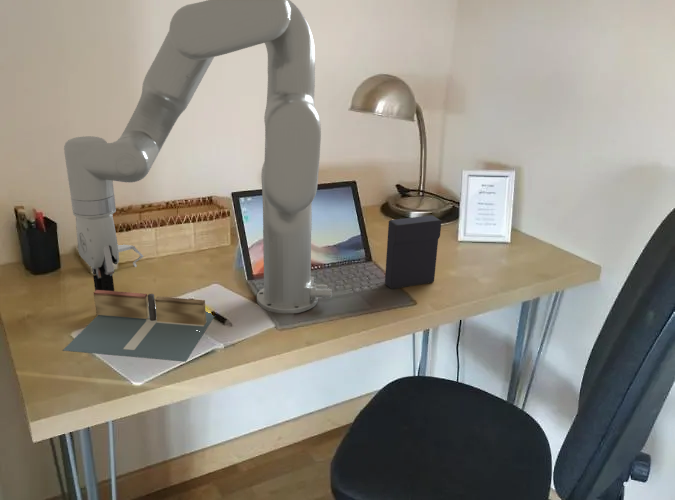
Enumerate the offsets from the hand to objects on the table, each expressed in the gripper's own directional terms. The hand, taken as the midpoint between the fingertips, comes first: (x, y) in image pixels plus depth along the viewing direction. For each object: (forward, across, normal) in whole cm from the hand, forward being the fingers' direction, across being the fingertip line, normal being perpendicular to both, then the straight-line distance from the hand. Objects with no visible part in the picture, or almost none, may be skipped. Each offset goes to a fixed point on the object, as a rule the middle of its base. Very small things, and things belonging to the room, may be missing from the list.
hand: (105, 293), depth 122 cm
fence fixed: (+3, +14, +9) cm, 17 cm away
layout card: (+3, +14, +2) cm, 14 cm away
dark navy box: (+3, +26, +58) cm, 64 cm away
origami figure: (+3, -18, +8) cm, 20 cm away
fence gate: (+2, +7, +1) cm, 7 cm away
